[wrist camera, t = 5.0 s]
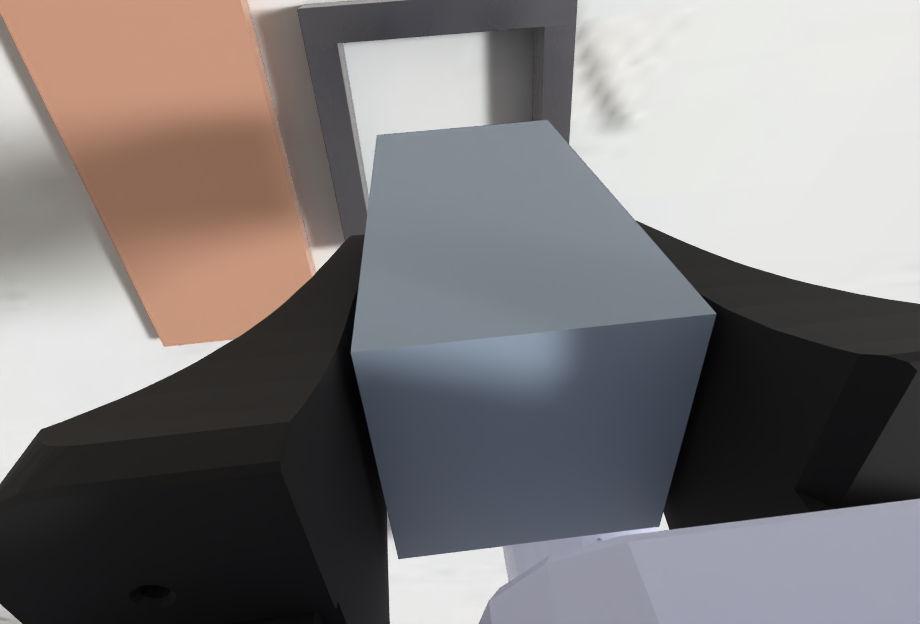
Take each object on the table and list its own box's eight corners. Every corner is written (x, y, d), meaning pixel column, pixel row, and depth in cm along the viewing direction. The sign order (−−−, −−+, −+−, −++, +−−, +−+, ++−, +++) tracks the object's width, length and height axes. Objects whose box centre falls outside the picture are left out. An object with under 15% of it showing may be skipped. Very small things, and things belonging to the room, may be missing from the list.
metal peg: (542, 267, 15) (659, 526, 8) (398, 282, 14) (398, 559, 8) (547, 119, 12) (716, 313, 6) (377, 135, 12) (350, 352, 6)
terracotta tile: (327, 319, 24) (325, 329, 23) (170, 335, 23) (163, 346, 23) (210, -147, 15) (201, -151, 14) (-51, -130, 14) (-73, -134, 14)
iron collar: (554, 221, 22) (563, 237, 21) (351, 241, 22) (348, 258, 20) (565, -16, 17) (578, -13, 16) (304, 4, 17) (296, 8, 16)
